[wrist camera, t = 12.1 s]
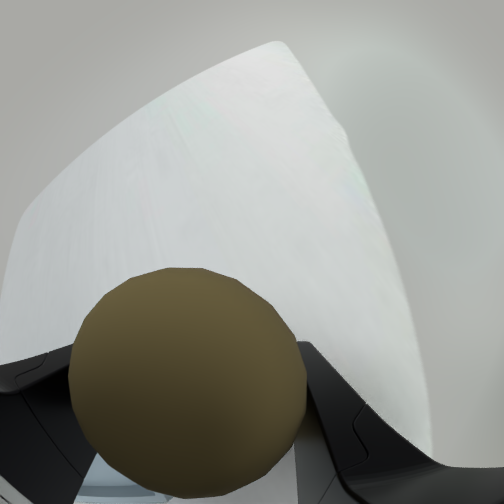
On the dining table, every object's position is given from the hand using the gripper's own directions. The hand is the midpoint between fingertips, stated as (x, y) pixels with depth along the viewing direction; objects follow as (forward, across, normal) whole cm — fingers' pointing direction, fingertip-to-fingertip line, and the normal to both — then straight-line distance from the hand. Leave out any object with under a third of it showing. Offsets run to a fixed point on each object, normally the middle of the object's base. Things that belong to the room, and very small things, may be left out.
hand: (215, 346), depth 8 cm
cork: (+4, 0, +6) cm, 7 cm away
